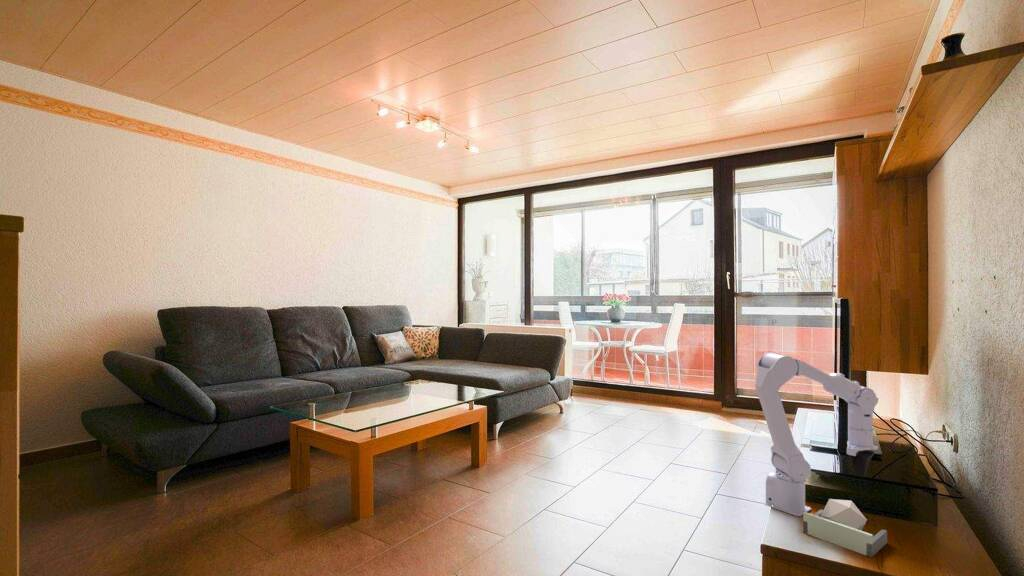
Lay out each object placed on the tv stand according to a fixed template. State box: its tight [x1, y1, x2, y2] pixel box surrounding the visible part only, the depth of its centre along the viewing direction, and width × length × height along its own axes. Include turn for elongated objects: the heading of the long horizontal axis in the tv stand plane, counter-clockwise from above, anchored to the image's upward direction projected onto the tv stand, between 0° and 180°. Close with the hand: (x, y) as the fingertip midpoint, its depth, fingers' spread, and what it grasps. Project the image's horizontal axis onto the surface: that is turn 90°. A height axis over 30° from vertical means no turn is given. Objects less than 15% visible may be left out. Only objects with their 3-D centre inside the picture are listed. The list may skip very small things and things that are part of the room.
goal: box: [802, 509, 888, 558], centre depth 121 cm, size 15×11×5 cm
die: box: [821, 498, 868, 531], centre depth 124 cm, size 8×9×10 cm
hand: (860, 475), depth 138 cm, fingers closed
